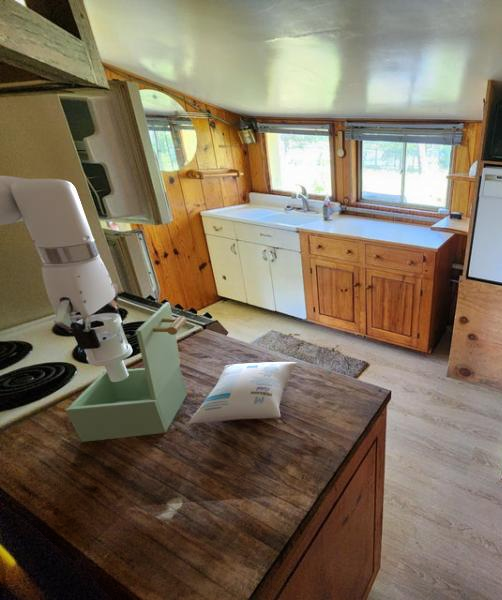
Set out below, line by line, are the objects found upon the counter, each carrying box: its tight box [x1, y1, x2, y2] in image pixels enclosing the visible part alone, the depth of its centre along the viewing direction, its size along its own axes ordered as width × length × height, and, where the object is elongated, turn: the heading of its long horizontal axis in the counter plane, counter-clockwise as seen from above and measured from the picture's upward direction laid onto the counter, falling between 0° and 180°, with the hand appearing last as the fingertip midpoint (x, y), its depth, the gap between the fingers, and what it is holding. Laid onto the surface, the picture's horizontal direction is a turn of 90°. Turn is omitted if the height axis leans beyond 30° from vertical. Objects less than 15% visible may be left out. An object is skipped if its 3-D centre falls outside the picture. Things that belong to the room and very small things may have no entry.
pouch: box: [187, 361, 298, 424], centre depth 78 cm, size 8×19×20 cm
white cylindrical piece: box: [77, 313, 133, 382], centre depth 67 cm, size 7×7×15 cm
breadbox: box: [65, 366, 188, 443], centre depth 73 cm, size 16×13×9 cm
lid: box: [135, 301, 188, 400], centre depth 69 cm, size 16×13×5 cm
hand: (103, 336), depth 65 cm, fingers closed on white cylindrical piece, 7 cm apart
